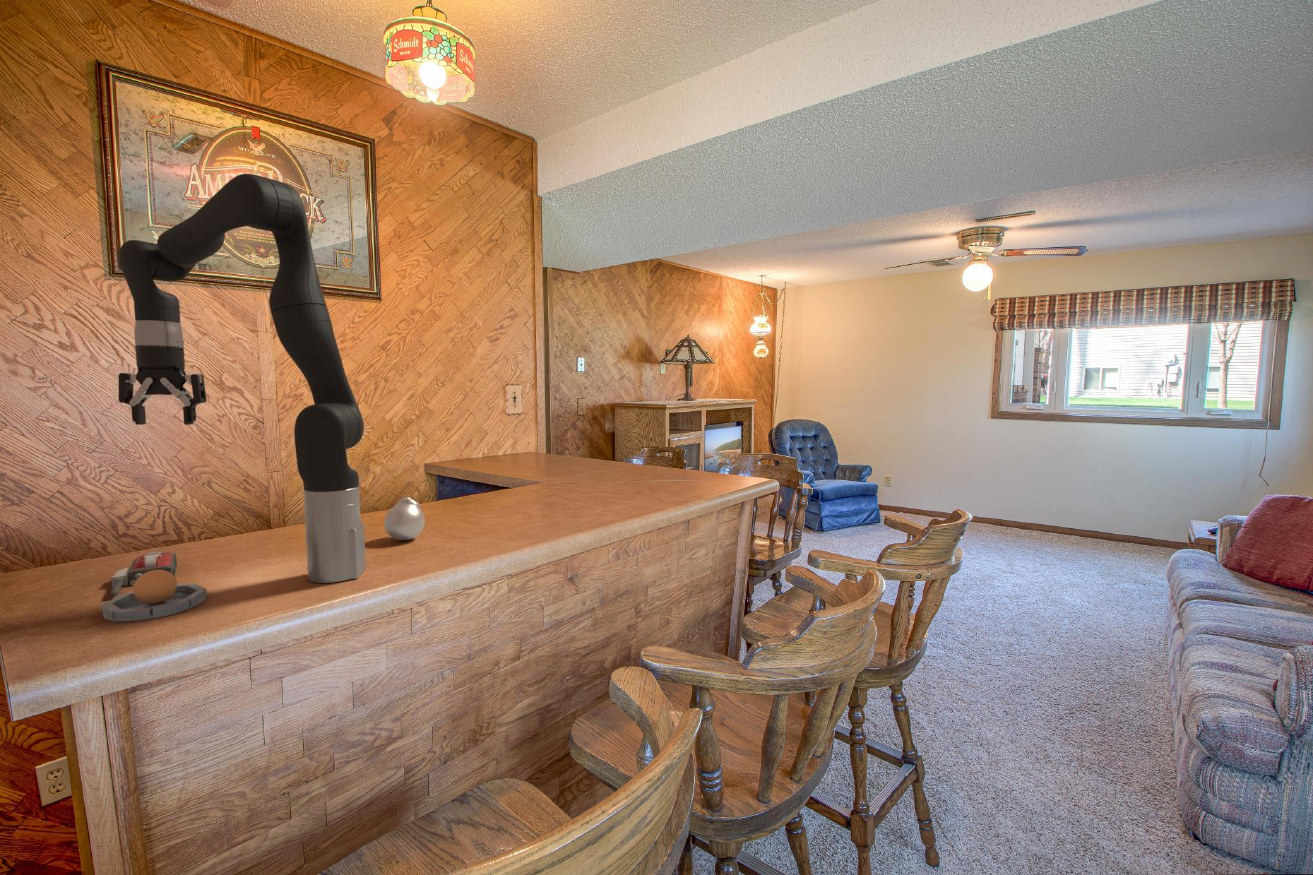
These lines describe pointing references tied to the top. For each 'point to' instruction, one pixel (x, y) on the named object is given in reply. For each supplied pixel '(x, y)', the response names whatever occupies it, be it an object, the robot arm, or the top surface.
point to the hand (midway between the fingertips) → (165, 424)
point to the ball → (155, 586)
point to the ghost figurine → (404, 520)
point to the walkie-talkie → (143, 569)
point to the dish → (153, 605)
